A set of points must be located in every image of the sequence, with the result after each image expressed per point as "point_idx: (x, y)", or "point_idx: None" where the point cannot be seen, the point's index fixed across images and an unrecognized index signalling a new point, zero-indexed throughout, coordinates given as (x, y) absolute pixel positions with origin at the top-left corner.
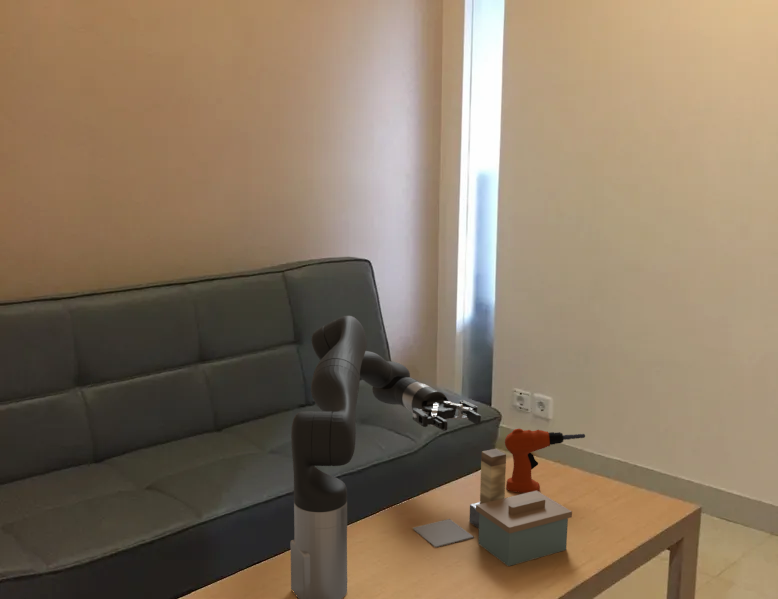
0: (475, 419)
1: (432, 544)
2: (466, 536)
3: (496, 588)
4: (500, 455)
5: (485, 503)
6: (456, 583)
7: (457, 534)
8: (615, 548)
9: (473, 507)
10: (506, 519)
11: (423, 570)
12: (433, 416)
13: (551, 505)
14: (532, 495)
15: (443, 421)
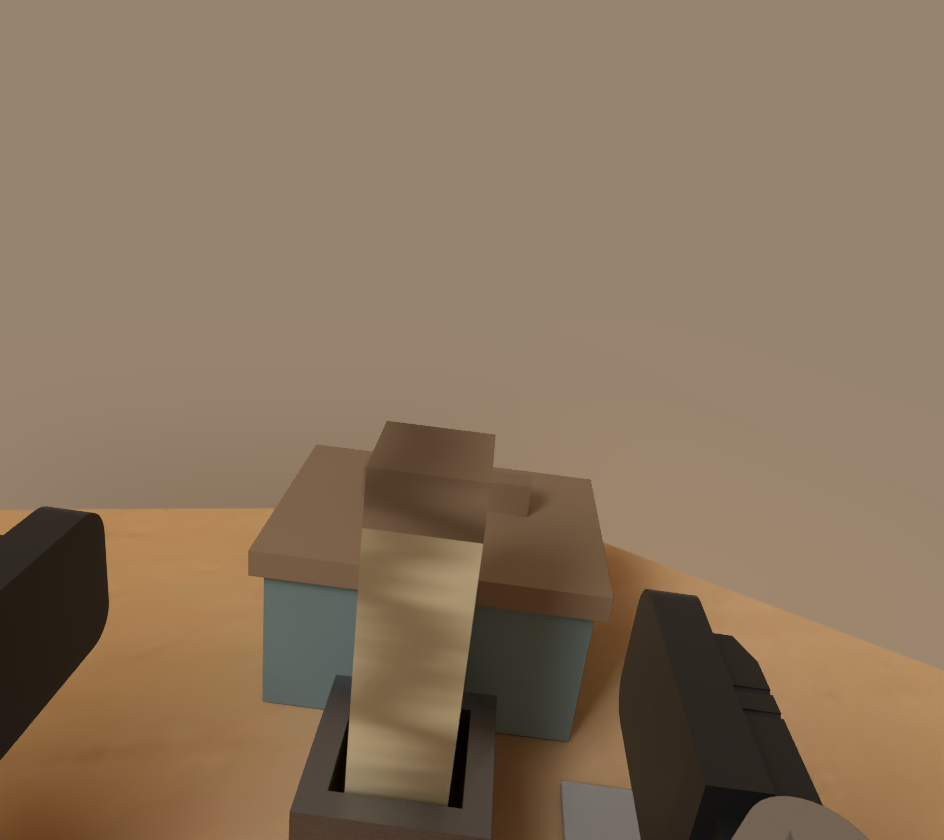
0: (74, 605)
1: None
2: (592, 798)
3: (656, 573)
4: (428, 427)
5: (564, 586)
6: (763, 630)
7: (625, 835)
8: (190, 524)
9: (491, 808)
10: (565, 502)
11: (864, 723)
12: (832, 818)
13: (333, 480)
14: (314, 537)
15: (700, 609)
